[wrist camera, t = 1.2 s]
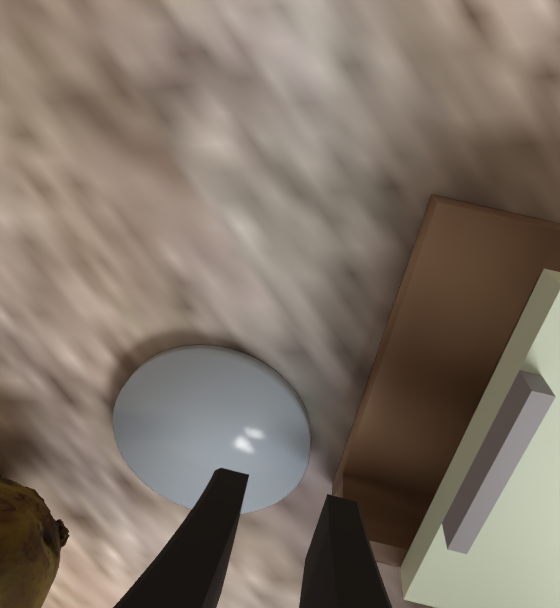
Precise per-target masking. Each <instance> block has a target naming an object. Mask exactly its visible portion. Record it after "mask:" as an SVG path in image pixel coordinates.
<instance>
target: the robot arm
mask: <svg viewBox="0 0 560 608" xmlns="http://www.w3.org/2000/svg"><path fill="white" fill-rule="evenodd" d="M248 478H249V474H245V473H241V472H237V471H233V470H229V469H225V468H219V469H217V470H215V471H214V473H213V475H212V477H211V479H210V481H209V483H208V485H207V486H206V488H205V490H204V491H203V493H202V495H201V496H200V498H199V499H198V501H197V503H196V504H195V506H194V507H193V509H192V510H191V511H190V513H189V514H188V516H187V517H186V519H185V520H184V522H183V523H182V524H181V526H180V527H179V528H178V530H177V531H176V532H175V534H174V535H173V536H172V538H171V539H170V540H169V541H168V543H167V544H166V545H165V547H164V548H163V549H162V551H161V552H160V553H159V555H158V556H157V557H156V558H155V560H154V561H153V562H152V563H151V564H150V565H149V567H148V568H147V569H146V570H145V571H144V573H143V574H142V575H141V576H140V577H139V578H138V580H137V581H136V582H135V583H134V584H133V586H132V587H131V588H130V589H129V590H128V591H127V593H126V594H125V595H124V596H123V597H122V598H121V599H120V601H119V602H118V603H117V604H116V605H115V606H114V607H113V608H216V607H217V604H218V601H219V598H220V595H221V591H222V587H223V583H224V579H225V575H226V571H227V567H228V563H229V559H230V555H231V551H232V547H233V543H234V538H235V534H236V530H237V526H238V521H239V517H240V513H241V508H242V504H243V500H244V495H245V491H246V487H247V483H248ZM299 608H392V606H391V603H390V600H389V598H388V595H387V592H386V590H385V587H384V584H383V581H382V578H381V575H380V572H379V569H378V566H377V563H376V560H375V557H374V554H373V551H372V548H371V545H370V541H369V538H368V535H367V531H366V528H365V524H364V520H363V516H362V513H361V508H360V506H359V505H358V503H357V502H356V501H352V500H348V499H344V498H340V497H336V496H332V495H328V494H327V497H326V500H325V503H324V506H323V509H322V512H321V515H320V518H319V521H318V524H317V527H316V530H315V533H314V535H313V538H312V541H311V544H310V547H309V550H308V553H307V556H306V559H305V566H304V574H303V581H302V589H301V597H300V605H299Z"/></svg>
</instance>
